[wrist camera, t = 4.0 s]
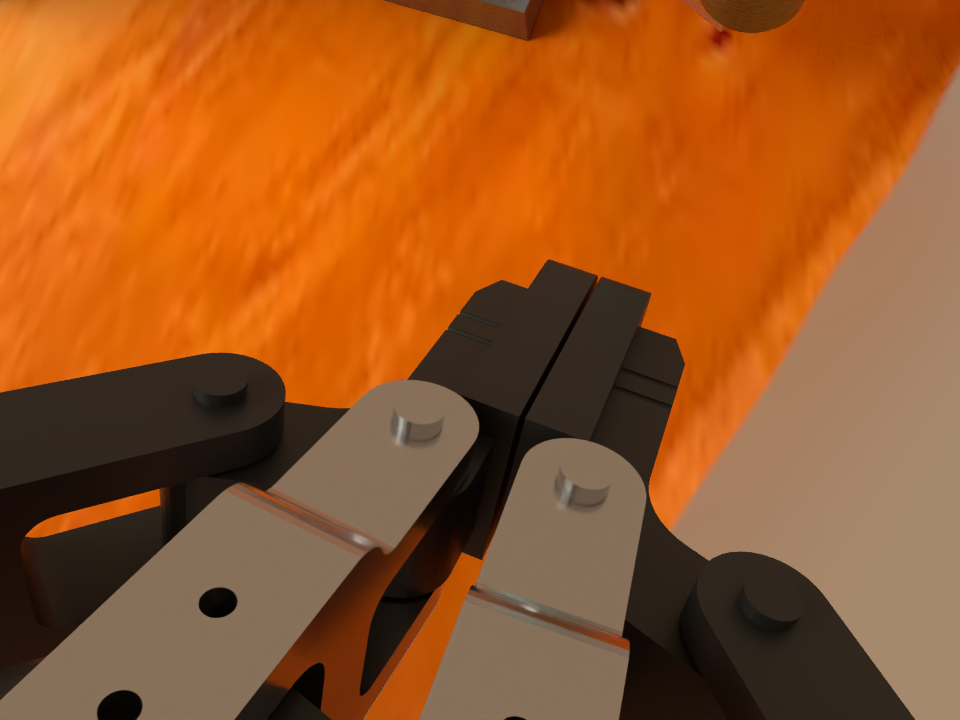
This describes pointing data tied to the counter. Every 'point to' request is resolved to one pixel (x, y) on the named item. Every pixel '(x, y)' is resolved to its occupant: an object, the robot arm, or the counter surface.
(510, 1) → the base plate
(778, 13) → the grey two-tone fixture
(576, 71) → the counter surface
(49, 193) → the counter surface
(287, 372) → the counter surface
